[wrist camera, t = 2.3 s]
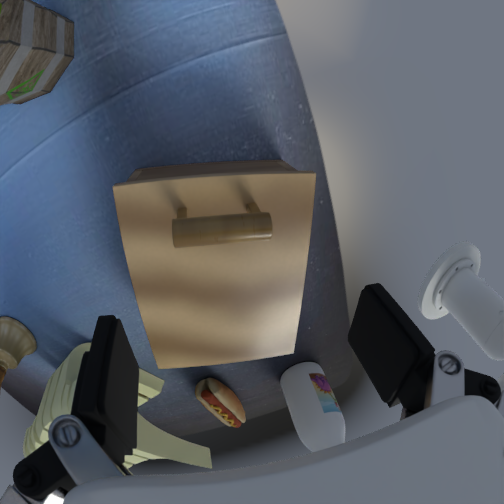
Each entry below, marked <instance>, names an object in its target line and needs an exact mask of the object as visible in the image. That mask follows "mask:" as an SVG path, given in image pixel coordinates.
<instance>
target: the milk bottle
mask: <svg viewBox="0 0 504 504" xmlns="http://www.w3.org/2000/svg"><path fill="white" fill-rule="evenodd" d="M280 383H281V387H282V390H283V393H284V396H285V399H286V402H287V405H288V408H289V411H290V414H291V417H292V420H293V423H294V425H295V428H296V431H297V433H298V436H299V438H300V439H301V441H302V442H303V443H304V445H305V446H306V447H307V448H308V449H310V450H311V451H312V452H316V451H320V450H323V449H327V448H330V447H333V446H336V445H339V444H342V443H345V422H344V418H343V415H342V413H341V410H340V408H339V406H338V403H337V401H336V399H335V396H334V394H333V392H332V390H331V388H330V385H329V383H328V381H327V379H326V377H325V375H324V372H323V370H322V368H321V367H320V366H319V365H318V364H317V363H314V362H303V363H299V364H296V365H294V366H292V367H290V368H289V369H287V370H286V371H285V372H284V373H283V374H282V376H281V380H280Z"/></svg>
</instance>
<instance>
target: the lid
mask: <svg viewBox="0 0 504 504" xmlns="http://www.w3.org/2000/svg"><path fill="white" fill-rule="evenodd" d="M315 181H316V173H315V172H313V171H260V172H235V173H217V174H202V175H189V176H177V177H166V178H156V179H147V180H139V181H130V182H123V183H115V184H114V186H113V193H114V199H115V205H116V211H117V217H118V222H119V227H120V232H121V237H122V242H123V247H124V252H125V256H126V260H127V265H128V269H129V273H130V277H131V281H132V285H133V289H134V292H135V296H136V300H137V303H138V307H139V310H140V314H141V317H142V320H143V324H144V327H145V330H146V333H147V337H148V340H149V343H150V346H151V349H152V352H153V355H154V357H155V360H156V363H157V366H158V369H168V368H183V367H195V366H206V365H216V364H225V363H233V362H241V361H249V360H256V359H262V358H269V357H275V356H281V355H287V354H293V353H294V348H295V342H296V336H297V330H298V323H299V317H300V310H301V303H302V296H303V289H304V282H305V274H306V266H307V258H308V250H309V242H310V233H311V223H312V214H313V203H314V193H315Z"/></svg>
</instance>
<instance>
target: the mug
mask: <svg viewBox="0 0 504 504" xmlns="http://www.w3.org/2000/svg"><path fill="white" fill-rule="evenodd" d="M73 58H74V22H72V21H70V20H69V19H67V18H65V17H63V16H62V15H60V14H58V13H56V12H54V11H52V10H50V9H47V8H45V7H43V6H41V5H39V4H37V3H35V2H33V1H31V0H0V105H4V104H11V103H13V104H22V103H25V102H27V101H29V100H32V99H34V98H37V97H39V96H42V95H44V94H47V93H50V92H51V91H52V89H53V88H54V86H55V84H56V83H57V81H58V80H59V78H60V77H61V75H62V74H63V72H64V71H65V69H66V68H67V66H68V65H69V64H70V62H71V61H72V59H73Z"/></svg>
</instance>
